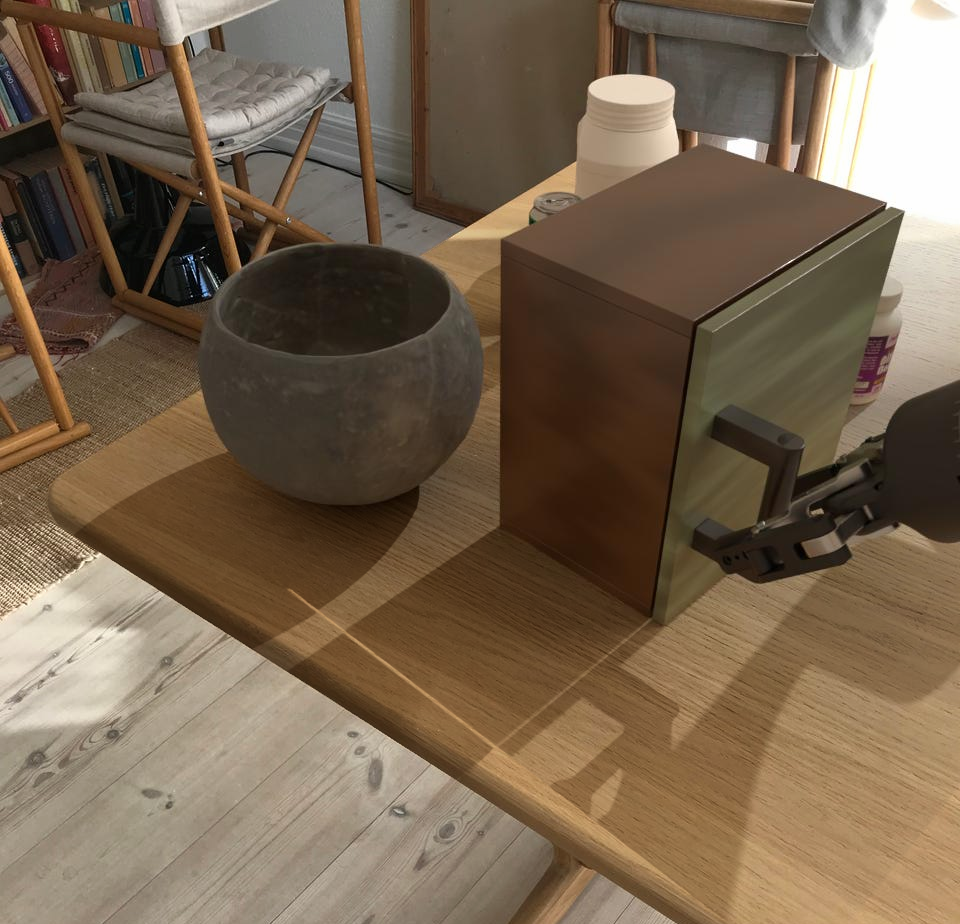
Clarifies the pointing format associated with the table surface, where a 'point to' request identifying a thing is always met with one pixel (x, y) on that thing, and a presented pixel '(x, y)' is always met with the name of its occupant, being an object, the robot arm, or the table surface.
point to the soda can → (551, 204)
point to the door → (768, 401)
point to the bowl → (340, 370)
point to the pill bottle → (880, 344)
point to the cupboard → (633, 344)
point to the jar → (624, 131)
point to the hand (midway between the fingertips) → (757, 526)
